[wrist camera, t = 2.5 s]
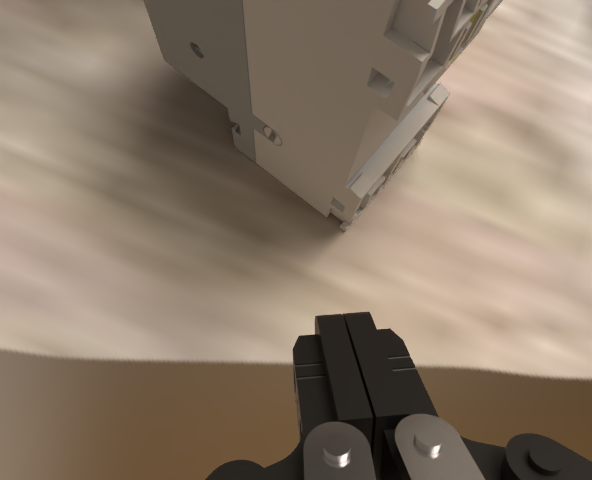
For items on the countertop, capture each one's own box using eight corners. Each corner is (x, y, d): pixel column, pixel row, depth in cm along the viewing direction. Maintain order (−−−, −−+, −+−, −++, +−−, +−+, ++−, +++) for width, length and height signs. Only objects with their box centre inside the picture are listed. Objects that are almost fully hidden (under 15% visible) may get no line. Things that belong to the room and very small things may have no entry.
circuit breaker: (241, 15, 28) (207, -353, 14) (421, 141, 26) (595, -147, 12) (158, 88, 26) (23, -255, 12) (345, 232, 24) (446, 15, 10)
